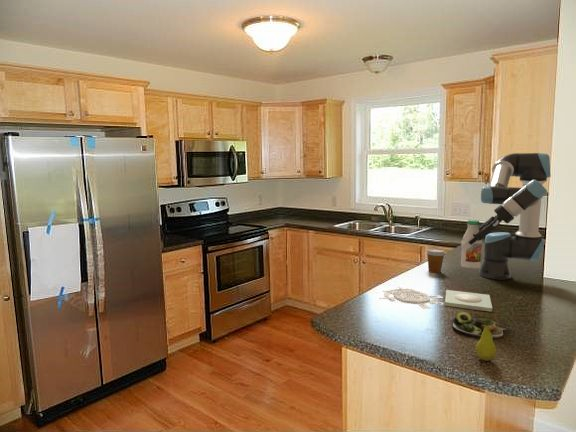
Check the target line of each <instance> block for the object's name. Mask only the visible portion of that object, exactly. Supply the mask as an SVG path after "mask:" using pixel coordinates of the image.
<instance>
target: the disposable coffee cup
mask: <svg viewBox="0 0 576 432" xmlns="http://www.w3.org/2000/svg"><path fill="white" fill-rule="evenodd" d="M426 254H427V255H426V256H427V265H428V272H430V273H433V274H439V273H440V274H441V272H442V268H443V261H444V258H445V255H446V252H445V250H443V249H441V248H440V249H439V248H428V249H427V250H426Z"/></svg>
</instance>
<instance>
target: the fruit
mask: <svg viewBox="0 0 576 432" xmlns="http://www.w3.org/2000/svg"><path fill="white" fill-rule="evenodd" d="M483 323H484V324H485V322H484V320H483ZM480 335H481V337H479V338H480V339H479V340H478V342H476V344H475V352H476V353H475V354H477V356H478V358H480V359H481V360H482V361H484V362H487V361H491V360H493V359H494V358H495V357H496V354H497V348H496V345H495V343H494V340H493V339H494V338H492V335H493V334H492V333H491V332H490V330H489V329H488V328H487V327H486V324H485V327H484V330H483V332H482V333H481V334H480Z"/></svg>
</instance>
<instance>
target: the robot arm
mask: <svg viewBox="0 0 576 432" xmlns="http://www.w3.org/2000/svg"><path fill="white" fill-rule="evenodd" d="M491 171H492V172H491V173H492V175H491V179H490V181H489V185H488V186H482V188H481V191H480V202H481V203H483V204H489V205H498V206H497V207H495V208H494V209H493V211H494V213H495V214H496V215H495V216H491V217H490V218H489V219H487V220H486V221H485V222H483V223H482V224H481V225H479V227H478V229H479V232H478V233H477V234H476V235H475V234H473V236H472V237H471V238H470V239H468V240H467V241H466V242H465V243H463V244H462V241H463V240H461V241H460V243H461V244H460V247H461V249H462V248H463V249H464V250H465V251H466V250H467V249H468V248H470V247H471V246H472V245H473V244H475V243H476V242H477V241H479V240H482V241H483V239H484V238H485V239H484V251H483V261H482V262H481V265H480V268H478V269H479V270H478V275H479V276H481V277H483V278H487V279H491V280H502V281H503V280H505V281H506V280H509V279H511V277H512V276H511V275H512V272H511V269H510V266H509V259H513V260H521V261H527V262H530V261H531V262H538V261H539V260H540V259H541V257H542V253H543V249H544V244H545V238H543V237H542V234H541V233H540V232H539V228H540V220H541V206H542V198H544V196H546V195H547V194H548V190H547V188H546V187H545V186H544V184H545V183H547V181H548V180H547V179H548V178H549V179H550V178H551V161H550V155H549V154H548V153H543V152H541V153H540V152H534V153H533V152H532V153H529V152H525V153H523V152H522V153H521V152H516V153H515V152H514V153H508V154H506V155H504V156H501V157H500V158H499V159H497V160H496V161H495V162H494V163H493V166H492V168H491ZM511 177H518V178H519V181H520V183H521V184H522V187H512V186H511V187H509V183H510V178H511ZM518 216H519V224H518V226H519V227H518V230H517V231H516V232H514V235H512V234H511V233H510V232H505V231H504V232H503V231H501V232H500V231H498V232H493V231H494V230H495V229H496V228H497V227H500V225H501V222H504V223H505V224H509V223H511V222H512V221H513V220H515V217H516V218H517V217H518Z"/></svg>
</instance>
